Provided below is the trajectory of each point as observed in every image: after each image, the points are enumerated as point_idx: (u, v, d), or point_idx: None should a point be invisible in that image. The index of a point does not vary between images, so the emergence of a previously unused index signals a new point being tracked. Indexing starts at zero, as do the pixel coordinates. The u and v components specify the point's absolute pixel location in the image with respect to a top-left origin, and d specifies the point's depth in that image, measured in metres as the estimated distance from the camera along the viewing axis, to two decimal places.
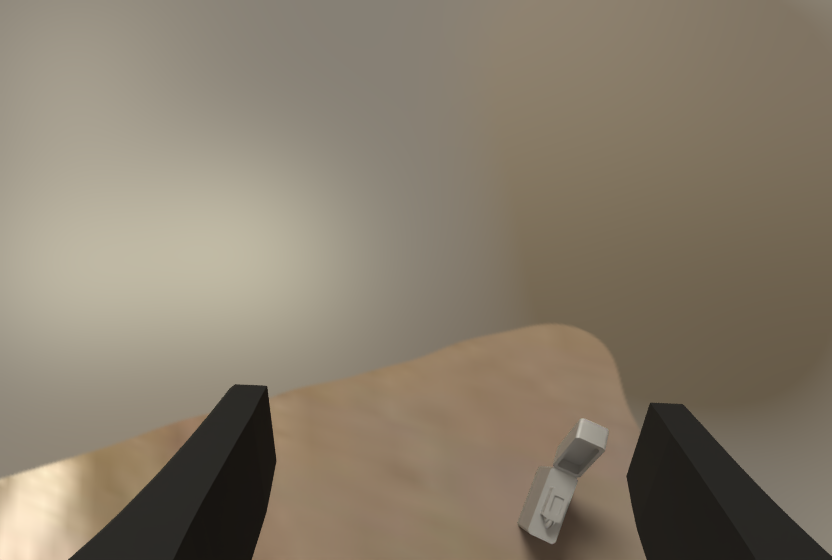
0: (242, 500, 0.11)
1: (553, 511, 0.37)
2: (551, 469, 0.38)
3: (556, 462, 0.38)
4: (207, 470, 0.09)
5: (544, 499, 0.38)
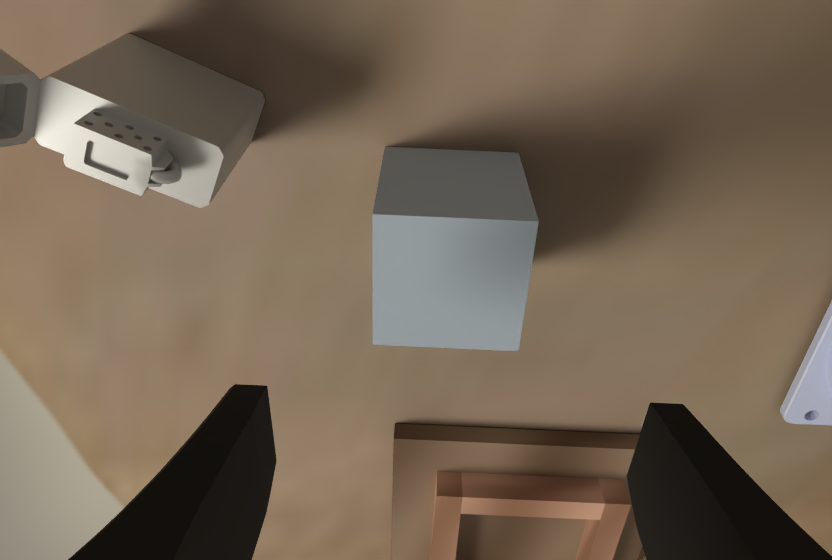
0: (242, 500, 0.11)
1: (127, 168, 0.14)
2: (41, 143, 0.15)
3: (7, 143, 0.14)
4: (207, 470, 0.09)
5: None
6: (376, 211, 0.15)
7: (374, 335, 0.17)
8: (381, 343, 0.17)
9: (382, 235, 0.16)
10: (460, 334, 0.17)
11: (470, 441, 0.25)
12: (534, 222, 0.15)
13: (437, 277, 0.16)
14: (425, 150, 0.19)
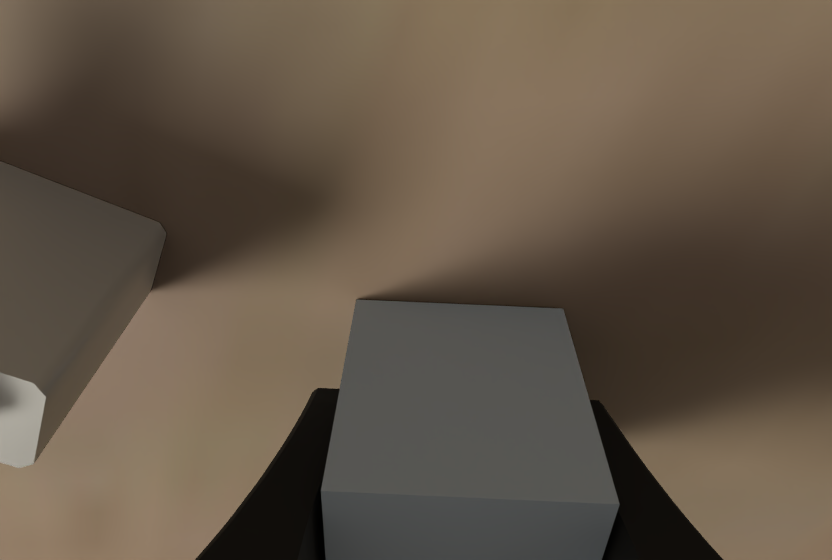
0: None
1: None
2: None
3: None
4: (310, 475, 0.09)
5: None
6: (328, 482, 0.09)
7: None
8: None
9: (339, 519, 0.09)
10: None
11: None
12: (611, 504, 0.09)
13: None
14: (418, 308, 0.12)
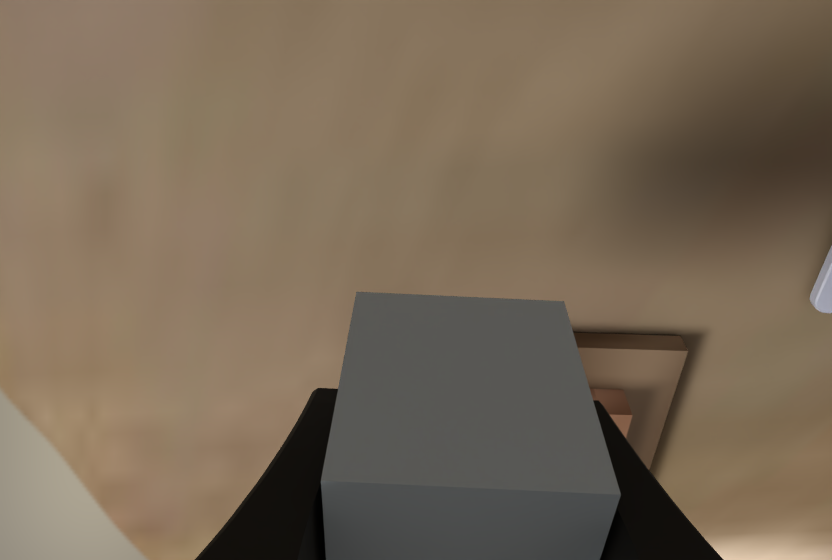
0: None
1: None
2: None
3: None
4: (310, 475, 0.09)
5: None
6: (328, 472, 0.09)
7: None
8: None
9: (340, 509, 0.09)
10: None
11: None
12: (612, 495, 0.08)
13: None
14: (419, 301, 0.12)
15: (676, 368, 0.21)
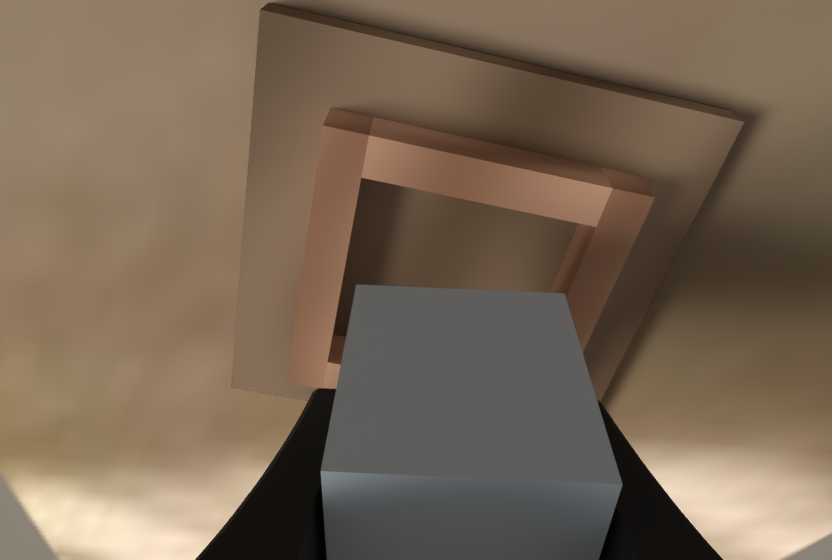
0: None
1: None
2: None
3: None
4: (310, 475, 0.09)
5: None
6: (328, 462, 0.09)
7: None
8: None
9: (340, 499, 0.09)
10: None
11: (397, 41, 0.14)
12: (614, 484, 0.08)
13: (439, 555, 0.09)
14: (419, 293, 0.12)
15: (720, 150, 0.15)
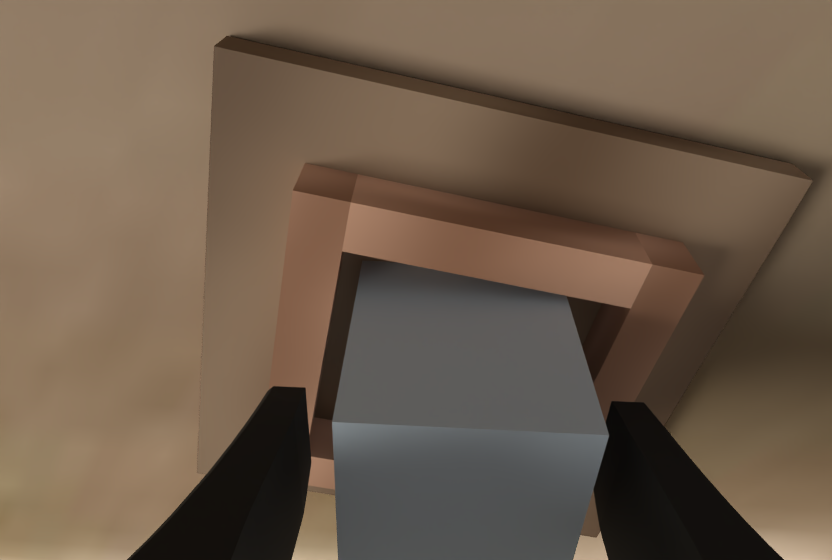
0: (284, 502, 0.11)
1: None
2: None
3: None
4: (255, 472, 0.09)
5: None
6: (338, 414, 0.09)
7: None
8: None
9: (349, 450, 0.09)
10: None
11: (386, 84, 0.11)
12: (601, 435, 0.09)
13: (439, 504, 0.10)
14: (421, 268, 0.13)
15: (782, 213, 0.12)
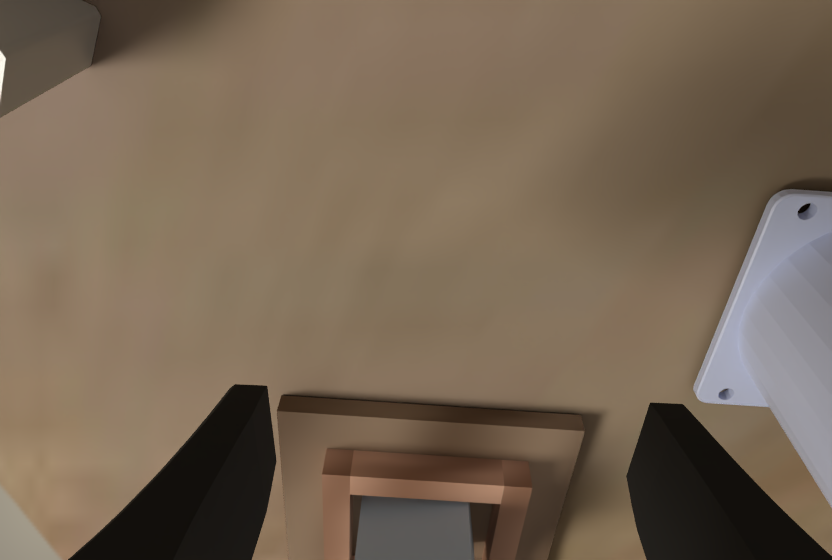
0: (242, 500, 0.11)
1: None
2: None
3: None
4: (207, 470, 0.09)
5: None
6: None
7: None
8: None
9: None
10: None
11: (360, 416, 0.23)
12: None
13: None
14: None
15: (575, 445, 0.23)
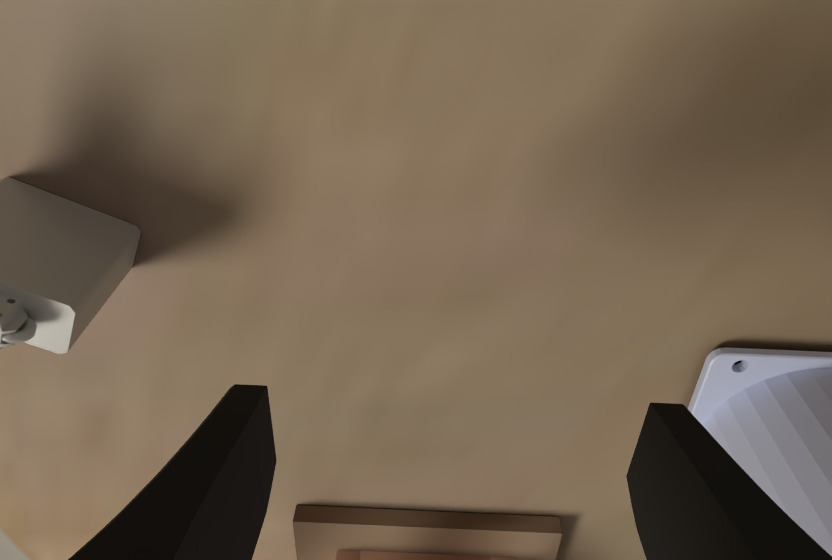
0: (242, 500, 0.11)
1: None
2: None
3: None
4: (207, 470, 0.09)
5: None
6: None
7: None
8: None
9: None
10: None
11: (365, 524, 0.26)
12: None
13: None
14: None
15: (554, 544, 0.26)
